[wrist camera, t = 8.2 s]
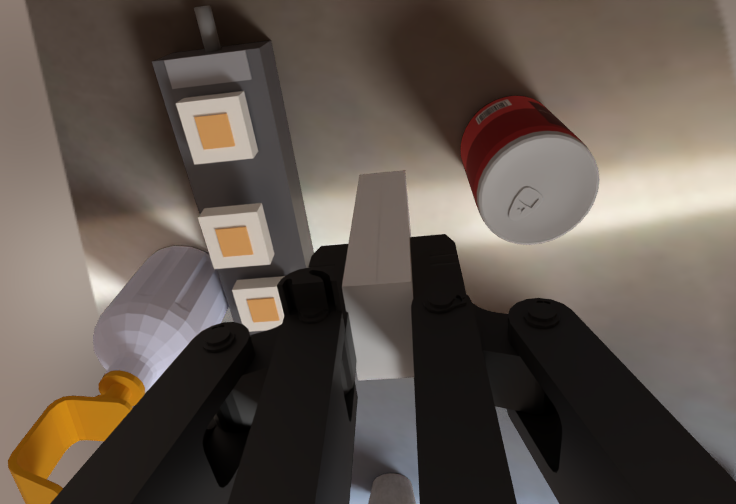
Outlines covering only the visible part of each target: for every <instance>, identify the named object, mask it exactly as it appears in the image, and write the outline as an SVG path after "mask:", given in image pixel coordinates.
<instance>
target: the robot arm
mask: <svg viewBox="0 0 736 504" xmlns="http://www.w3.org/2000/svg"><path fill="white" fill-rule="evenodd" d="M308 267H309V268H303V269H299V270H296V271H294V272H291V273H289V274H288V275H286V276H285V277H283V278H282V279H281V280H280V281H279V283H278V284H277V289H278V293H279V297H280V301H281V305H282V308H283V312H284V319H283V322H282V324H281V325H279V326H277V327H275V328H272V329H270V330H267V331H263V332H260V333H256V334H253V335H250V333H249V329H248V328H247V327H246V326H244V325H243V324H240V323H236V322H225V323H220V324H216V325H213V326H211V327H209V328H207V329H205V330H203V331H201V332H200V333H199V334H198V335H196V336H195V337H194V338H193V339H192V340H191V341H190V343H189V344H188V345H187V346H186V347H185V348H184V350H183V351H182V352H181V353H180V354H179V355H178V356H177V358H176V359H175V360H174V361H173V362H172V363H171V365H170V366H169V367H168V368H167V369H166V370H165V372H164V373H163V374H162V375H161V376H160V377H159V378H158V380H157V381H156V382H155V383H154V384H153V385H152V387H151V388H150V389H149V390H148V391H147V392H146V393H145V395H144V396H143V397H142V398H141V399H140V400H139V402H138V403H137V404H136V405H135V406H134V407H133V408H132V410H131V411H130V412H129V413H128V414H127V415H126V417H125V418H124V419H123V420H122V421H121V422H120V423H119V425H118V426H117V427H116V428H115V429H114V430H113V432H112V433H111V434H110V435H109V436H108V437H107V439H106V440H105V441H104V442H103V443H102V444H101V445H100V447H99V448H98V449H97V450H96V451H95V453H94V454H93V455H92V456H91V457H90V458H89V459H88V460H87V462H86V463H85V464H84V465H83V466H82V467H81V469H80V470H79V471H78V472H77V473H76V474H75V475H74V477H73V478H72V479H71V480H70V481H69V482H68V484H67V485H66V486H65V487H64V488H63V489H62V490H61V492H60V493H59V494H58V495H57V496H56V497H55V499H54V500H53V501H52V502H51V503H50V504H349V501H350V488H351V475H352V462H353V450H354V437H355V424H356V411H357V399H358V396H357V391H356V385H355V373H356V370H357V376H358V380H375V379H392V378H409V377H414V385H415V407H416V429H417V451H418V473H419V495H420V504H517V503H516V498H515V494H514V489H513V485H512V480H511V476H510V471H509V467H508V462H507V458H506V453H505V449H504V444H503V440H502V436H501V431H500V427H499V422H498V418H497V413H496V409H495V406H497V407H501V408H506V409H507V412H508V415H509V417H510V419H511V421H512V423H513V424H514V426H515V428H516V429H517V431H518V433H519V435H520V436H521V438H522V440H523V442H524V443H525V445H526V447H527V448H528V450H529V452H530V454H531V455H532V457H533V459H534V461H535V462H536V464H537V466H538V468H539V469H540V471H541V473H542V474H543V476H544V478H545V480H546V481H547V483H548V485H549V487H550V488H551V490H552V492H553V493H554V495H555V497H556V499H557V500H558V502H559V504H736V482H735V480H734V479H733V478H732V477H731V476H730V475H729V474H728V473H727V472H726V471H725V470H724V469H723V468H722V467H721V466H720V465H719V464H718V463H717V462H716V461H715V459H714V458H713V457H712V456H711V455H710V454H709V453H708V452H707V451H706V450H705V449H704V448H703V447H702V446H701V445H700V444H699V443H698V442H697V441H696V440H695V439H694V437H693V436H692V435H691V434H690V433H689V432H688V431H687V430H686V429H685V428H684V427H683V426H682V425H681V424H680V423H679V422H678V421H677V420H676V419H675V418H674V417H673V415H672V414H671V413H670V412H669V411H668V410H667V409H666V408H665V407H664V406H663V405H662V404H661V403H660V402H659V401H658V400H657V399H656V398H655V397H654V396H653V395H652V393H651V392H650V391H649V390H648V389H647V388H646V387H645V386H644V385H643V384H642V383H641V382H640V381H639V380H638V379H637V378H636V377H635V376H634V375H633V374H632V373H631V371H630V370H629V369H628V368H627V367H626V366H625V365H624V364H623V363H622V362H621V361H620V360H619V359H618V358H617V357H616V356H615V355H614V354H613V353H612V352H611V351H610V349H609V348H608V347H607V346H606V345H605V344H604V343H603V342H602V341H601V340H600V339H599V338H598V337H597V336H596V335H595V334H594V333H593V332H592V331H591V330H590V328H589V327H588V326H587V325H586V324H585V323H584V322H583V321H582V320H581V319H580V318H579V317H578V316H577V315H576V314H575V313H574V312H573V311H572V310H571V309H570V308H568V307H567V306H566V305H564V304H562V303H560V302H557V301H554V300H551V299H542V298H534V299H526V300H523V301H521V302H518V303H516V304H515V305H514V306H513V307H512V308H510V311H509V314H503V313H496V312H491V311H487V310H484V309H482V308H479V307H478V306H476V305H474V304H473V303H472V302H471V300H470V298H469V297H468V295H467V294H466V291H465V286H464V282H463V277H462V273H461V268H460V263H459V259H458V255H457V250H456V245H455V242H454V241H453V240H451V239H450V238H449V237H448V236H447V235H446V234H442V235H430V236H419V237H411V229H410V218H409V207H408V196H407V184H406V173H405V170H403V171H393V172H383V173H373V174H363V175H359V181H358V188H357V194H356V200H355V207H354V213H353V219H352V226H351V232H350V238H349V244H341V245H329V246H321V247H320V248H319V249H318V250H317V251H316V252H315V253H314V254H313V255H312V256H311V259H310V263H309V266H308Z"/></svg>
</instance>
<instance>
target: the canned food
mask: <svg viewBox="0 0 736 504" xmlns="http://www.w3.org/2000/svg"><path fill="white" fill-rule="evenodd" d="M461 158H462V162H463V166H464V169H465V172H466V175H467V178H468V181H469V184H470V187H471V190H472V193H473V196H474V199H475V202H476V205H477V207H478V210H479V213H480V215H481V217H482V219H483V221H484V222H485V224H486V225H487V226H488V228H489V229H490V230H491V231H492V232H493V233H494V234H496V235H497V236H498V237H500V238H502V239H504V240H506V241H508V242H512V243H516V244H524V245H532V244H541V243H544V242H548V241H552V240H554V239H556V238H558V237H560V236H563V235H564V234H566V233H567V232H569V231H570V230H572V229H573V228H574V227H575V226H576V225H577V224H579V223H580V222H581V221H582V220H583V218H584V217H585V216H586V215H587V213H588V212H589V210H590V209H591V207H592V205H593V203H594V201H595V198H596V195H597V192H598V187H599V171H598V167H597V164H596V161H595V159H594V157H593V155H592V154H591V152H590V151H589V149H588V148H587V146H585V145H584V144H583V142H582V141H581V140H580V139H579V138H578V137H577V136H576V135H574V134H573V133H572V132H571V131H570V130H569V129H568V128H567V127H566V126H565V125H564V124H563V123H562V122H561V121H560V120H559V119H557V118H556V117H555V116H554V115H553V114H552V113H551V112H550V111H549V110H548V109H547V108H546V107H545V106H543V105H542V104H541V103H540V102H538V101H536V100H534V99H532V98H528V97H524V96H509V97H504V98H501V99H498V100H495V101H493V102H491V103H489V104H487V105H486V106H484V107H483V108H482V109H481V110H479V111H478V112H477V113H476V114H475V116H474V117H473V118H472V119H471V120H470V122H469V124H468V125H467V127H466V129H465V132H464V134H463V137H462V142H461Z"/></svg>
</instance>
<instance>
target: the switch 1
mask: <svg viewBox="0 0 736 504" xmlns="http://www.w3.org/2000/svg"><path fill="white" fill-rule="evenodd" d="M176 106H177V109H178V113H179V116H180V119H181V122H182V126H183V129H184V132H185V135H186V139H187V142H188V145H189V149H190V152H191V155H192V158H193V162H194V165H195V164H204V163H214V162H223V161H233V160H242V159H252V158H254V157H255V155H256V154H257V152H258V148H257V144H256V140H255V135H254V131H253V127H252V123H251V119H250V114H249V110H248V106H247V102H246V97H245V93H244V91H239V92H230V93H222V94H213V95H205V96H197V97H188V98H183V99H181V100H180V101H178V102H177V103H176Z"/></svg>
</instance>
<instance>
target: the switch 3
mask: <svg viewBox="0 0 736 504" xmlns="http://www.w3.org/2000/svg"><path fill="white" fill-rule="evenodd" d="M283 277H285V276H281V277H268V278H256V279H244V280H237V281H236V283H235V285H234V287H233V289H232V292H233V295H234V299H235V302H236V305H237V308H238V312H239V315H240V318H241V321H242V324H243V325H244V326H246V327H247V328H248V329H249V332H251V331H265V330H270V329H272V328H275V327H277V326H279V325H281V324H282V322H283V319H284V312H283V308H282V305H281V301H280V297H279V293H278V289H277V284H278V283H279V281H280V280H281V279H282V278H283Z"/></svg>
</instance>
